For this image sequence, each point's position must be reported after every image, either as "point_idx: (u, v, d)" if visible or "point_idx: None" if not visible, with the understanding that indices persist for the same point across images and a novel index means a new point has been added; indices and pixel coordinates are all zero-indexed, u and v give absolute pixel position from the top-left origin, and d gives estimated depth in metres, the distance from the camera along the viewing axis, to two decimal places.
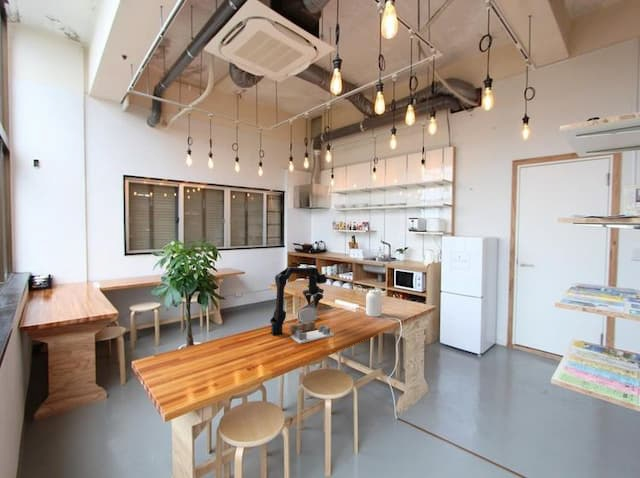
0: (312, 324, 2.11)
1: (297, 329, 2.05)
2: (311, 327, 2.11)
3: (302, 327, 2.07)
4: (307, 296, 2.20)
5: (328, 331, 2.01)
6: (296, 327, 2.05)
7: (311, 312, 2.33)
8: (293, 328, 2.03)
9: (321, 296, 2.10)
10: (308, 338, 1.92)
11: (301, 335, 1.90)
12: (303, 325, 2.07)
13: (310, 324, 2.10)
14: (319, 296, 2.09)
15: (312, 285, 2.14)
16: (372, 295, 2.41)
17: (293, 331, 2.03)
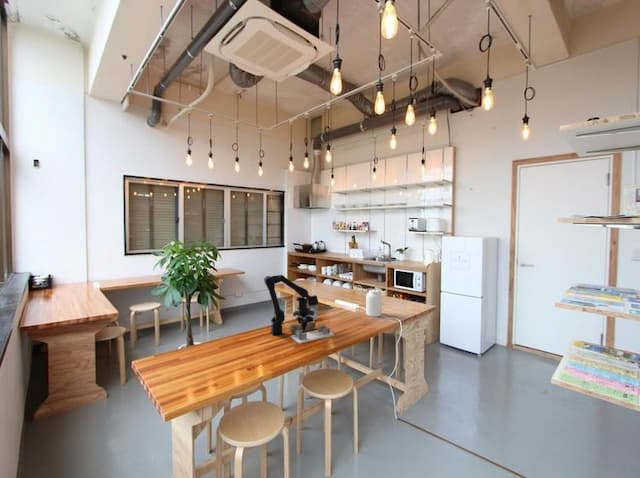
0: (312, 324, 2.11)
1: (297, 329, 2.05)
2: (312, 327, 2.11)
3: (302, 327, 2.07)
4: (299, 319, 2.10)
5: (328, 331, 2.01)
6: (296, 327, 2.05)
7: None
8: (292, 328, 2.04)
9: (311, 319, 2.02)
10: (308, 338, 1.92)
11: (301, 335, 1.90)
12: None
13: (310, 324, 2.10)
14: (309, 319, 2.01)
15: (302, 307, 2.05)
16: (372, 295, 2.41)
17: (292, 331, 2.04)
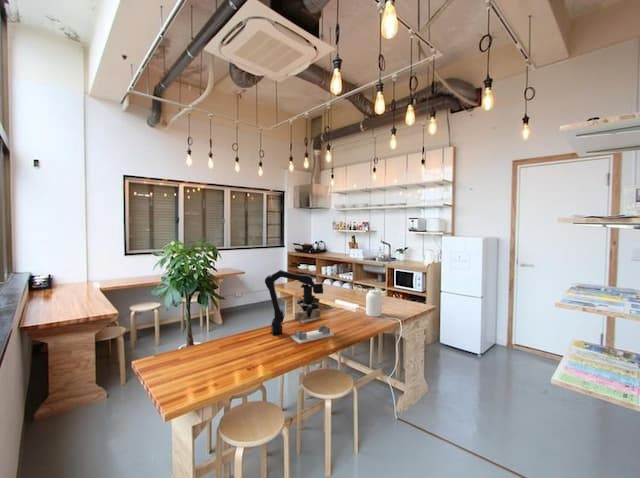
0: (317, 312, 2.06)
1: (302, 317, 2.00)
2: (317, 314, 2.05)
3: (307, 315, 2.02)
4: (304, 307, 2.04)
5: (328, 331, 2.01)
6: (301, 314, 1.99)
7: None
8: (298, 315, 1.98)
9: (317, 306, 1.96)
10: (308, 338, 1.92)
11: (301, 335, 1.90)
12: None
13: (315, 312, 2.05)
14: (315, 306, 1.95)
15: (307, 295, 2.00)
16: (372, 295, 2.41)
17: (298, 319, 1.98)
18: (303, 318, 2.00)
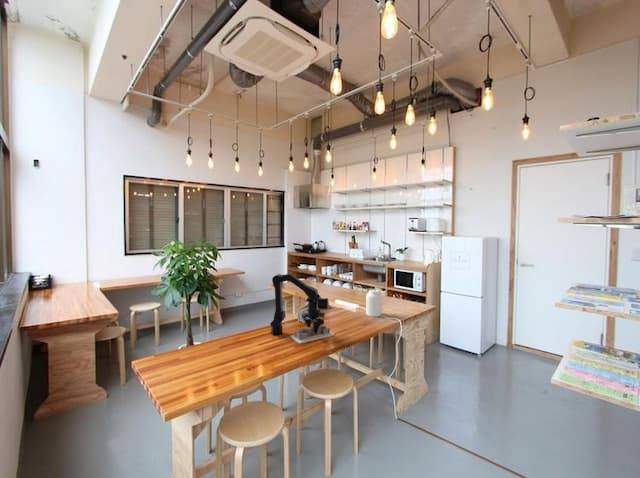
0: (322, 328, 2.00)
1: (307, 333, 1.94)
2: (322, 330, 2.00)
3: (312, 331, 1.96)
4: (307, 321, 2.01)
5: (328, 331, 2.01)
6: (306, 331, 1.94)
7: None
8: (302, 332, 1.93)
9: (322, 322, 1.91)
10: (308, 338, 1.92)
11: (301, 335, 1.90)
12: (313, 329, 1.96)
13: (320, 328, 1.99)
14: (320, 322, 1.90)
15: (312, 309, 1.94)
16: (372, 295, 2.41)
17: None
18: (308, 334, 1.95)
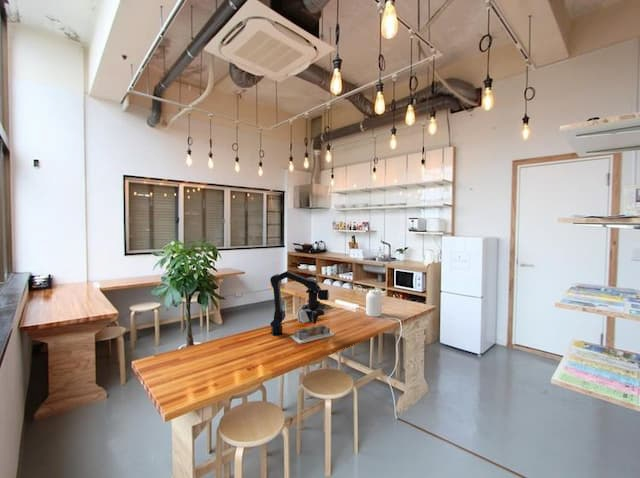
0: (322, 328, 2.00)
1: (307, 333, 1.94)
2: (322, 330, 2.00)
3: (312, 331, 1.96)
4: (308, 313, 1.99)
5: (328, 331, 2.01)
6: (306, 331, 1.94)
7: None
8: (302, 332, 1.93)
9: (322, 313, 1.90)
10: (308, 338, 1.92)
11: (301, 335, 1.90)
12: (313, 329, 1.96)
13: (320, 328, 1.99)
14: (320, 313, 1.89)
15: (312, 300, 1.94)
16: (372, 295, 2.41)
17: None
18: (308, 334, 1.95)
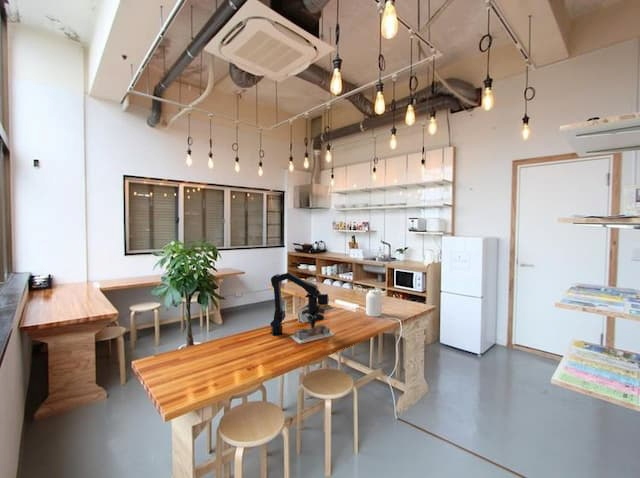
0: (322, 328, 2.00)
1: (307, 333, 1.94)
2: (322, 331, 2.00)
3: (312, 331, 1.96)
4: None
5: (328, 331, 2.01)
6: (306, 331, 1.94)
7: None
8: (302, 332, 1.93)
9: (322, 317, 1.90)
10: (308, 338, 1.92)
11: (301, 335, 1.90)
12: (313, 329, 1.96)
13: (320, 328, 1.99)
14: (320, 317, 1.90)
15: (312, 305, 1.94)
16: (372, 295, 2.41)
17: None
18: (308, 334, 1.95)
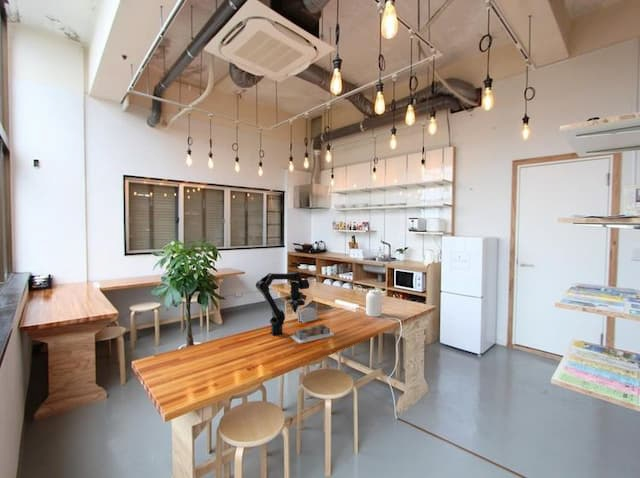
0: (322, 328, 2.00)
1: (307, 333, 1.94)
2: (322, 330, 2.00)
3: (312, 331, 1.96)
4: None
5: (328, 331, 2.01)
6: (306, 331, 1.94)
7: (311, 312, 2.34)
8: (302, 332, 1.93)
9: (302, 303, 2.03)
10: (308, 338, 1.92)
11: (301, 335, 1.90)
12: (313, 329, 1.96)
13: (320, 328, 1.99)
14: (300, 303, 2.02)
15: (294, 291, 2.07)
16: (372, 295, 2.41)
17: None
18: (308, 334, 1.95)
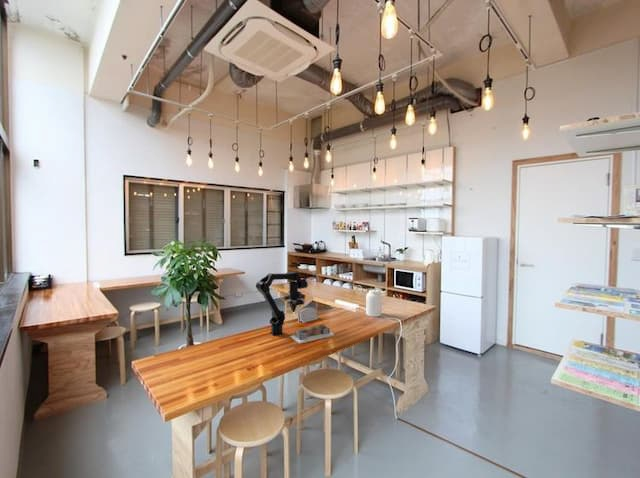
0: (322, 328, 2.00)
1: (307, 333, 1.94)
2: (322, 330, 2.00)
3: (312, 331, 1.96)
4: None
5: (328, 331, 2.01)
6: (306, 331, 1.94)
7: (312, 312, 2.34)
8: (302, 332, 1.93)
9: (302, 302, 2.04)
10: (308, 338, 1.92)
11: (301, 335, 1.90)
12: (313, 329, 1.96)
13: (320, 328, 1.99)
14: (299, 302, 2.03)
15: (293, 291, 2.08)
16: (372, 295, 2.41)
17: None
18: (308, 334, 1.95)
